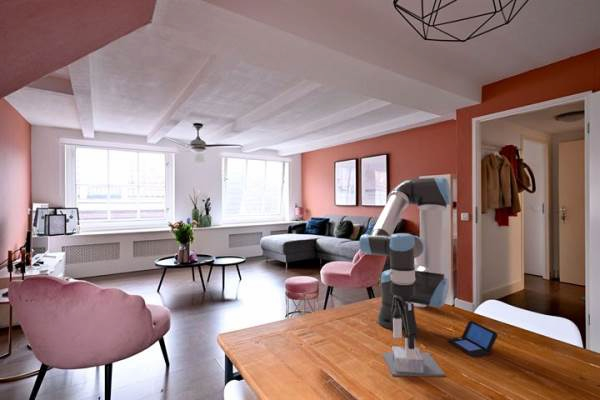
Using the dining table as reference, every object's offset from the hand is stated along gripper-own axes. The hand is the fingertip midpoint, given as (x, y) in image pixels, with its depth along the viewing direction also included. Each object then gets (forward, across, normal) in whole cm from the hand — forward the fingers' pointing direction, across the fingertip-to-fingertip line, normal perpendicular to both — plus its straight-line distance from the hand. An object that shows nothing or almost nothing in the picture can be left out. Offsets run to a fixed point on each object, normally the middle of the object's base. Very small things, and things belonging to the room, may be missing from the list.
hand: (403, 347), depth 99 cm
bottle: (+7, -58, +25) cm, 63 cm away
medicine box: (+4, 0, -4) cm, 5 cm away
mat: (+6, -1, +3) cm, 7 cm away
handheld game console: (+7, -13, +29) cm, 32 cm away
